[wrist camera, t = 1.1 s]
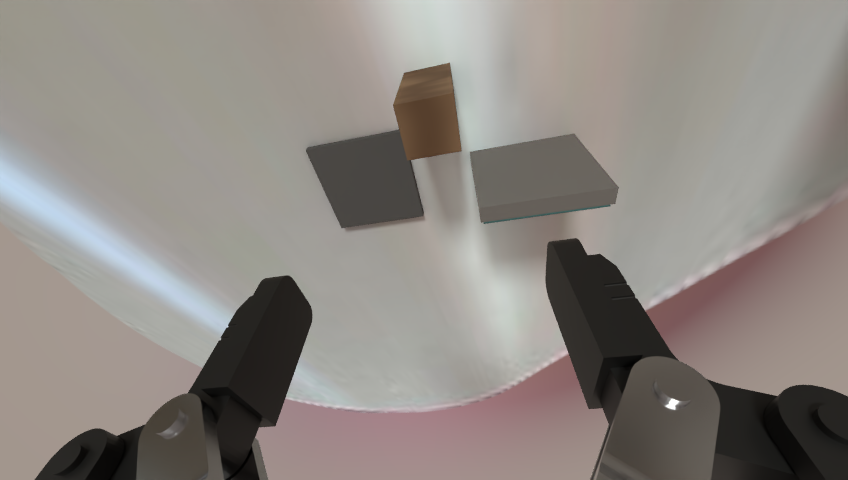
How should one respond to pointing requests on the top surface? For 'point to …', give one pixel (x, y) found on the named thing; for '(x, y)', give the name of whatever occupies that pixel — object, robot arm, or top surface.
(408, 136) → the block
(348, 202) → the mat
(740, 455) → the robot arm
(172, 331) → the top surface
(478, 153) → the tile
